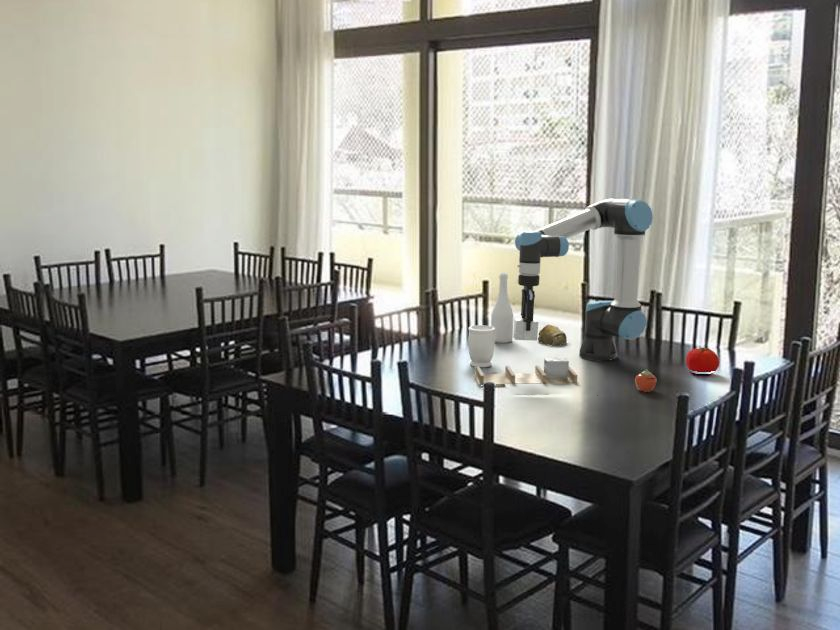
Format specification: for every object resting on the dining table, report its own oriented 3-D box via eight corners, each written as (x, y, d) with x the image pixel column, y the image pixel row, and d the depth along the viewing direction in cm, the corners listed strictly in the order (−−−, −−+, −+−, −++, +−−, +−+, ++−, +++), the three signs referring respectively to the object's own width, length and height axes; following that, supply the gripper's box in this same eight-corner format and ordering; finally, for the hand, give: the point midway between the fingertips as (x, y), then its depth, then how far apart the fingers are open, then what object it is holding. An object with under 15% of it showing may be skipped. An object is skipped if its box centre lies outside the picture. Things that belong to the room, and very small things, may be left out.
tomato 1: (643, 394, 303) (644, 372, 301) (629, 389, 309) (631, 367, 308) (660, 392, 305) (661, 370, 304) (647, 387, 312) (648, 365, 311)
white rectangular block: (535, 337, 321) (536, 319, 319) (537, 340, 316) (538, 321, 315) (513, 337, 320) (514, 318, 319) (515, 339, 316) (516, 320, 314)
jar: (492, 369, 335) (493, 331, 332) (465, 367, 337) (466, 329, 334) (495, 362, 345) (496, 325, 342) (469, 361, 347) (470, 324, 344)
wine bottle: (513, 343, 379) (515, 275, 374) (491, 343, 379) (493, 274, 374) (511, 338, 389) (513, 272, 383) (490, 338, 389) (491, 271, 383)
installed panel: (565, 376, 321) (565, 358, 320) (567, 379, 317) (568, 361, 316) (543, 376, 321) (544, 358, 320) (546, 380, 316) (546, 361, 315)
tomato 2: (692, 368, 340) (694, 342, 338) (723, 374, 331) (725, 348, 329) (677, 373, 332) (679, 346, 330) (709, 379, 324) (711, 352, 322)
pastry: (537, 339, 390) (538, 321, 388) (565, 340, 389) (566, 322, 387) (538, 346, 376) (538, 327, 374) (567, 347, 375) (568, 328, 373)
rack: (569, 375, 326) (569, 365, 326) (579, 386, 312) (580, 376, 311) (473, 376, 324) (473, 366, 323) (479, 387, 309) (479, 376, 308)
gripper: (515, 270, 322) (512, 332, 326) (522, 277, 305) (519, 342, 309) (535, 271, 323) (532, 333, 327) (543, 277, 305) (540, 343, 310)
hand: (525, 337), depth 318 cm, fingers closed on white rectangular block, 4 cm apart
